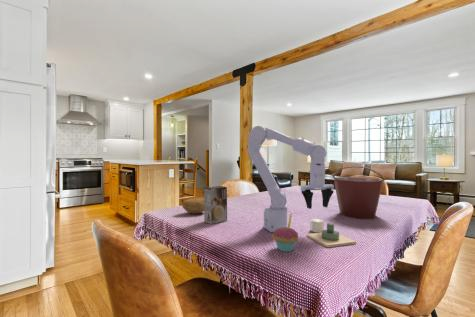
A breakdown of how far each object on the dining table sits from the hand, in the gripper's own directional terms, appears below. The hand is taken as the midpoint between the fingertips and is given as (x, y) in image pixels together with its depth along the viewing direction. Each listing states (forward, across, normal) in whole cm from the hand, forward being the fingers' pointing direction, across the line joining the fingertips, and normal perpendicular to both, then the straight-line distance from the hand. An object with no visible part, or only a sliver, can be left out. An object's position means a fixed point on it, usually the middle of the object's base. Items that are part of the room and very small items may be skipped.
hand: (317, 207), depth 102 cm
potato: (+10, -44, +44) cm, 63 cm away
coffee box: (+10, -37, +26) cm, 46 cm away
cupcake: (+10, -22, -14) cm, 28 cm away
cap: (+9, 0, 0) cm, 9 cm away
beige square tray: (+9, -2, -11) cm, 15 cm away
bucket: (+10, +36, +17) cm, 41 cm away
